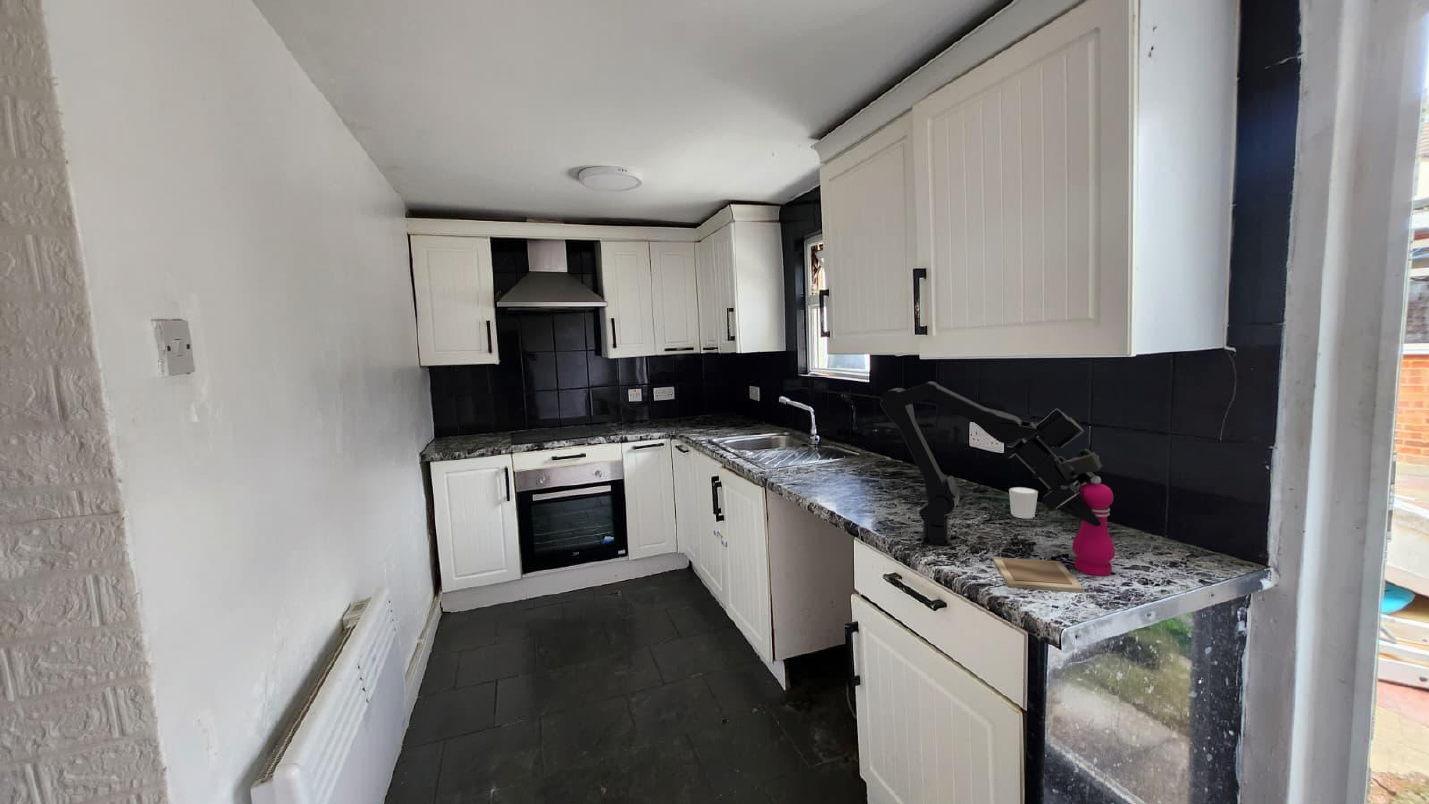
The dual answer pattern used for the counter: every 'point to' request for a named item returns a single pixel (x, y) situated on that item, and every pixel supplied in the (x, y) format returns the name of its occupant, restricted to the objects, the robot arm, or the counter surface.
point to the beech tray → (1037, 574)
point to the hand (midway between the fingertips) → (1102, 521)
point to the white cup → (1023, 502)
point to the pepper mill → (1095, 532)
